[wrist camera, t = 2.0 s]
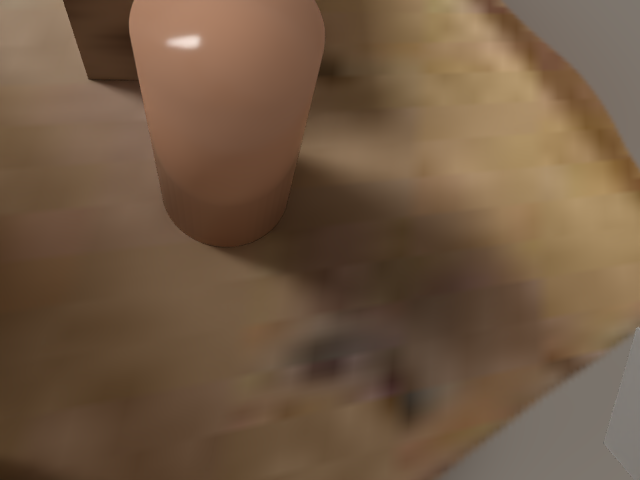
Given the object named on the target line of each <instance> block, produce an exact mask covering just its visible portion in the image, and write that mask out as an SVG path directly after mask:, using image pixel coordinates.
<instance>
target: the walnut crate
mask: <svg viewBox="0 0 640 480" xmlns="http://www.w3.org/2000/svg"><path fill="white" fill-rule="evenodd" d="M63 2H64V5H65V8H66V11H67V14H68V17H69V20H70V23H71V26H72V29H73V33H74V36H75V39H76V42H77V45H78V48H79V51H80V54H81V57H82V60H83V63H84V67H85V70H86V73H87V76H88V79H109V80H139V78H138V73H137V68H136V63H135V58H134V53H133V48H132V43H131V38H130V33H129V18H130V11H131V8H132V4H133V2H134V0H63Z"/></svg>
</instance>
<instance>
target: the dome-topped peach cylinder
mask: <svg viewBox="0 0 640 480" xmlns="http://www.w3.org/2000/svg"><path fill="white" fill-rule="evenodd" d="M129 33H130V38H131V43H132V48H133V53H134V58H135V63H136V68H137V73H138V78H139V83H140V88H141V93H142V98H143V103H144V108H145V113H146V118H147V123H148V128H149V133H150V138H151V143H152V148H153V153H154V158H155V163H156V168H157V173H158V178H159V183H160V188H161V193H162V198H163V203H164V206H165V208H166V211H167V213H168V215H169V217H170V218H171V220H172V221H173V222H174V224H175V225H176V226H177V227H178V228H179V229H180V230H181V231H182V232H184V233H185V234H186V235H188V236H189V237H191V238H193V239H195V240H197V241H199V242H202V243H205V244H208V245H212V246H218V247H234V246H240V245H245V244H248V243H251V242H253V241H256V240H258V239H260V238H261V237H263V236H264V235H266V234H267V233H268V232H270V231H271V230H272V229H273V228H274V227H275V226H276V224H277V223H278V222H279V220H280V219H281V217H282V216H283V213H284V211H285V209H286V206H287V202H288V198H289V194H290V190H291V186H292V181H293V177H294V173H295V169H296V165H297V160H298V156H299V152H300V148H301V144H302V140H303V135H304V131H305V127H306V123H307V119H308V115H309V110H310V106H311V102H312V98H313V94H314V89H315V85H316V81H317V77H318V73H319V69H320V64H321V60H322V56H323V52H324V46H325V27H324V21H323V18H322V15H321V12H320V9H319V8H318V6H317V4H316V2H315V0H134V2H133V4H132V8H131V11H130V18H129Z"/></svg>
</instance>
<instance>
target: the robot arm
mask: <svg viewBox="0 0 640 480" xmlns="http://www.w3.org/2000/svg"><path fill="white" fill-rule="evenodd" d="M603 443H604V445H605V446H606V447H607V448H608V450H609V451H610V452H611V453H612V454H613V455H614V457H615V458H616V459H617V460H618V461H619V463H620V464H621V465H622V466H623V467H624V469H625V470H626V471H627V472H628V473H629V474H630V476H631V477H632V478H633V479H634V480H640V327H637V328H636V331H635V335H634V338H633V342H632V345H631V349H630V352H629V356H628V359H627V363H626V366H625V369H624V373H623V376H622V380H621V383H620V387H619V390H618V394H617V397H616V401H615V404H614V408H613V411H612V415H611V418H610V422H609V425H608V429H607V432H606V436H605V439H604V442H603Z"/></svg>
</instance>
